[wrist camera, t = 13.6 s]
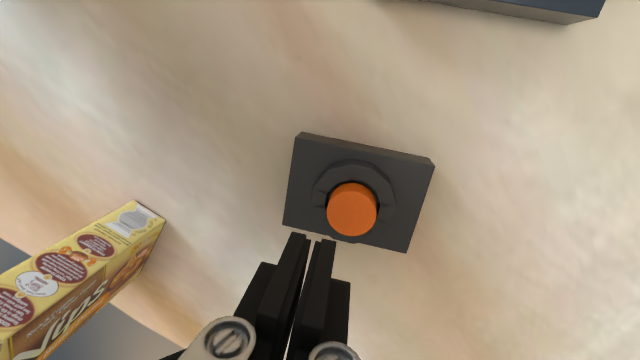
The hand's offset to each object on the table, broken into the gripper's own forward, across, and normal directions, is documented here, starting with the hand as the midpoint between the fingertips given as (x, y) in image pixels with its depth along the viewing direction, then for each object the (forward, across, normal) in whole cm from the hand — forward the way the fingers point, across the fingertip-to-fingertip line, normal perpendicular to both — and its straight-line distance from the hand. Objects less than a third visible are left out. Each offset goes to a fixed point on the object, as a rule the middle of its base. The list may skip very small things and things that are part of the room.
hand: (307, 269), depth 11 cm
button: (+12, -2, +3) cm, 13 cm away
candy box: (+16, +19, +14) cm, 29 cm away
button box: (+16, -2, +3) cm, 16 cm away
